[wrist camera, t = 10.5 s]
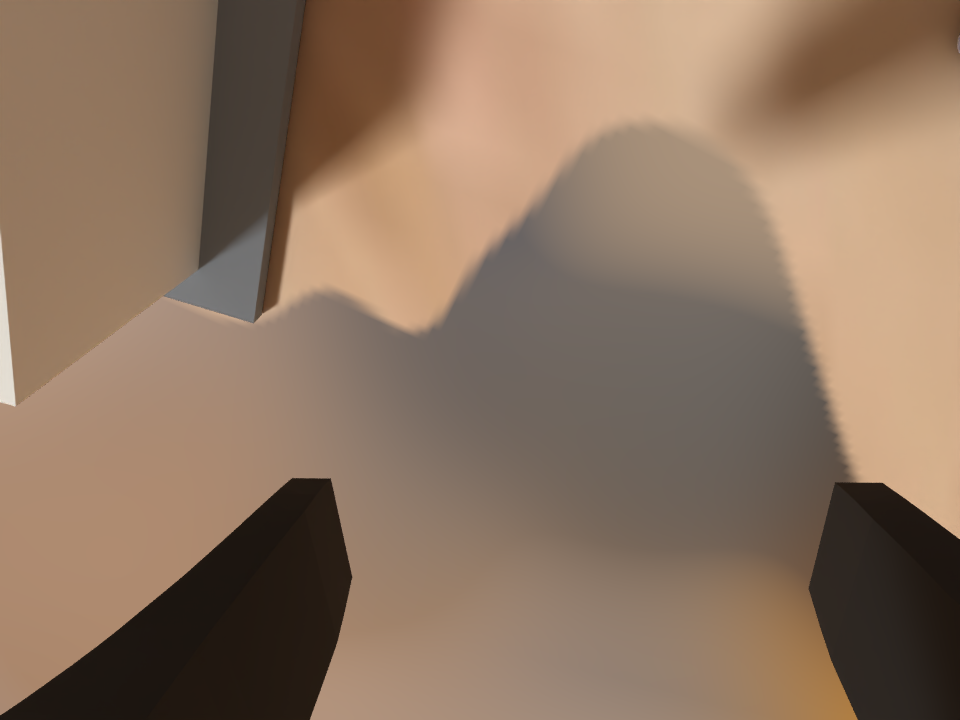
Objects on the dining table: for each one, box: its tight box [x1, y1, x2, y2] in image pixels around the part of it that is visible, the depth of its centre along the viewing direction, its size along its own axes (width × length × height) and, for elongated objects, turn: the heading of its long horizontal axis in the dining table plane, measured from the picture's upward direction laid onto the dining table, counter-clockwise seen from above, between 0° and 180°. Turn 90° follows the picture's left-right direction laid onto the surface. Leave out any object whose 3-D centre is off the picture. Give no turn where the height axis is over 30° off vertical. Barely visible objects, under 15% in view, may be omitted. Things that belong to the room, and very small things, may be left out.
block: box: [0, 0, 218, 406], centre depth 12 cm, size 2×9×7 cm, turn 164°
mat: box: [164, 0, 306, 323], centre depth 16 cm, size 6×11×1 cm, turn 163°
